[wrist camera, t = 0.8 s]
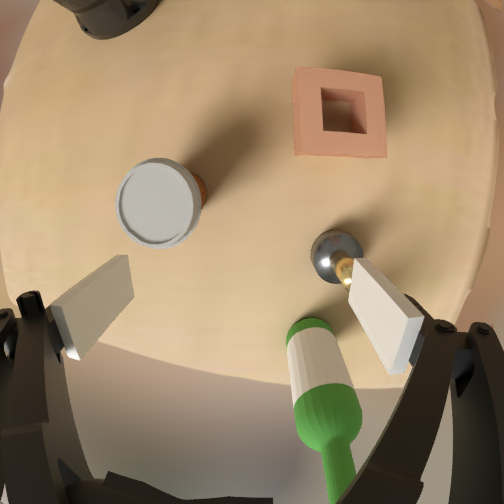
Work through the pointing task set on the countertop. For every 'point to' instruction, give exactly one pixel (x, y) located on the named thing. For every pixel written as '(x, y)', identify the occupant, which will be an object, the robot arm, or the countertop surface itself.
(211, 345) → the countertop surface
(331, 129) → the stand
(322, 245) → the light bulb
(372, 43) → the countertop surface
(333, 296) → the countertop surface
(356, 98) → the square frame block
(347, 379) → the wine bottle
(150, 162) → the disposable coffee cup
